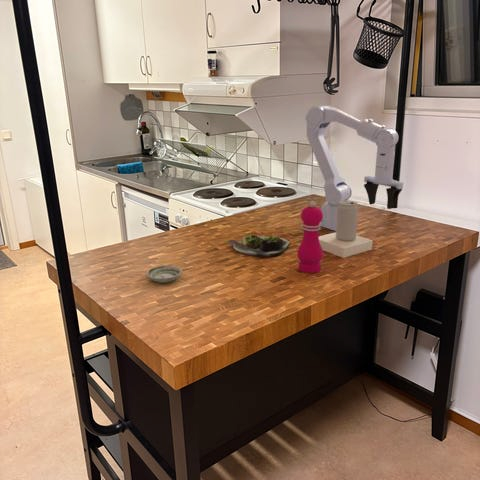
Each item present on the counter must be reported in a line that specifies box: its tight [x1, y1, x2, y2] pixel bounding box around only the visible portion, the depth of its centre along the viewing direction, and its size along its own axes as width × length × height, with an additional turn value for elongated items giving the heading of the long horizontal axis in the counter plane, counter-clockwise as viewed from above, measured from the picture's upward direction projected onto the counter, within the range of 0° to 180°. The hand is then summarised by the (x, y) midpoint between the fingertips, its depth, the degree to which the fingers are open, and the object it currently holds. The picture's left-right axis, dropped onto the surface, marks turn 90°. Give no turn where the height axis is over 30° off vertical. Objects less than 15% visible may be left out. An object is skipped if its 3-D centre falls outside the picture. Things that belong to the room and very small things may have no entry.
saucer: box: [145, 265, 183, 284], centre depth 129 cm, size 10×10×2 cm
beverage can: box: [335, 200, 359, 241], centre depth 150 cm, size 6×6×12 cm
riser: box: [318, 231, 373, 259], centre depth 152 cm, size 13×13×3 cm
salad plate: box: [227, 234, 291, 258], centre depth 153 cm, size 19×18×5 cm
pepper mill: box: [296, 200, 324, 274], centre depth 132 cm, size 7×7×20 cm
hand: (380, 206), depth 162 cm, fingers open, 7 cm apart
